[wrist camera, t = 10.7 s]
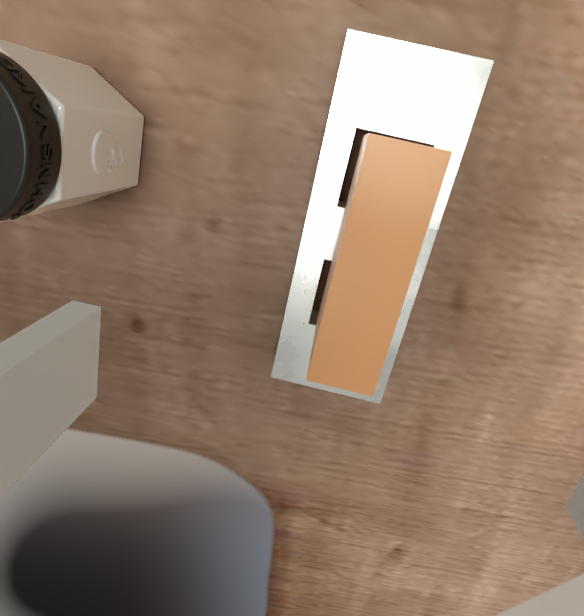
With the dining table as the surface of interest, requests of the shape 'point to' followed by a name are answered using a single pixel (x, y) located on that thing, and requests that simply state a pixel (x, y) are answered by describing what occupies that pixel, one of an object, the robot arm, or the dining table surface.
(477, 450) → the dining table surface
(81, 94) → the jar
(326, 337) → the tan notched block
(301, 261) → the grey slotted block
